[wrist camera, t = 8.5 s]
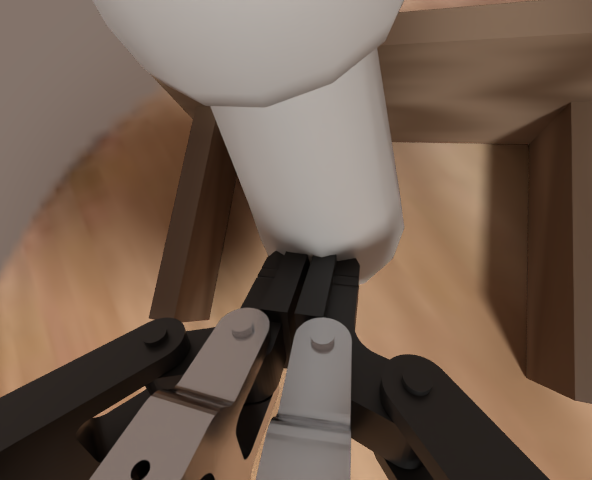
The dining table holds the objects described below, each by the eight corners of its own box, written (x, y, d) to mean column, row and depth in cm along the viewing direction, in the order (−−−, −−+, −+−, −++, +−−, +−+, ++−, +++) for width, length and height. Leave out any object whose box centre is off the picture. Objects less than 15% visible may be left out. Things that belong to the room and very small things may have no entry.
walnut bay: (581, 119, 13) (739, -17, 8) (587, 389, 12) (802, 472, 6) (215, 120, 18) (144, 34, 12) (175, 313, 16) (67, 318, 10)
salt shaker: (277, 192, 16) (32, -256, 4) (389, 179, 15) (480, -470, 3) (275, 303, 14) (-203, 41, 2) (404, 298, 13) (825, -276, 1)
